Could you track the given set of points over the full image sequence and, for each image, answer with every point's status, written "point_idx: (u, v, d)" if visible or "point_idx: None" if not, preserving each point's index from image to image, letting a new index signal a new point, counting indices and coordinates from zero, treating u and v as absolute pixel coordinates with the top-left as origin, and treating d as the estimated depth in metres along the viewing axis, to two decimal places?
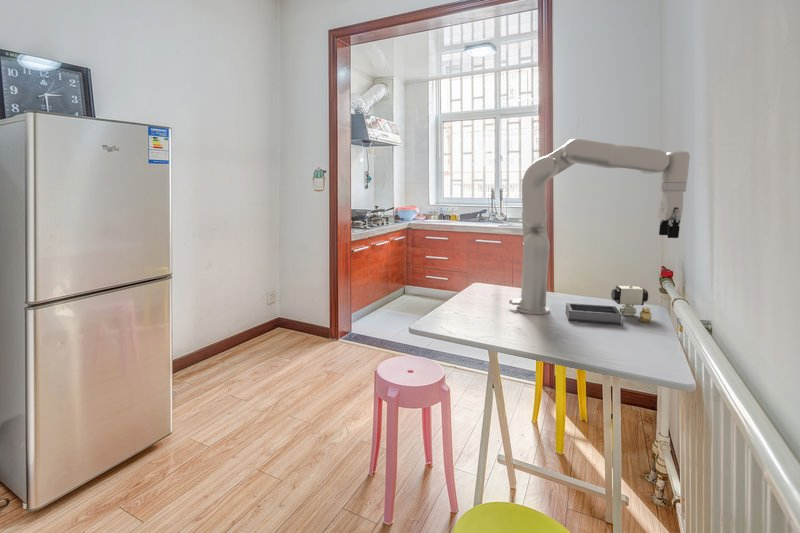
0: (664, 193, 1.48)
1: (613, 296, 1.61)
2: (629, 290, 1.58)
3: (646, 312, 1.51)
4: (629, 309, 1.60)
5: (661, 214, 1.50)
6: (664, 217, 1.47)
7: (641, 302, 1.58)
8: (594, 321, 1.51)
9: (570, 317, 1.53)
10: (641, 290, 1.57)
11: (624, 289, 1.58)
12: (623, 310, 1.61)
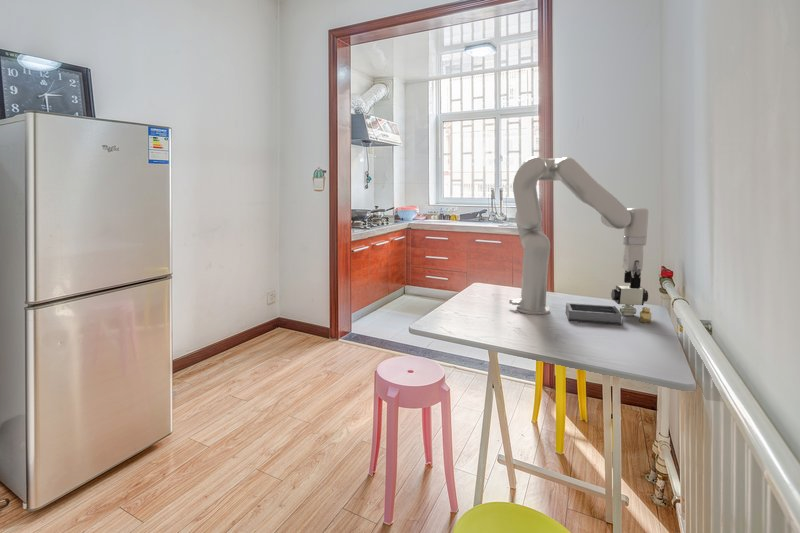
0: (626, 246, 1.58)
1: (613, 296, 1.61)
2: (629, 290, 1.58)
3: (646, 312, 1.51)
4: (629, 309, 1.60)
5: (624, 265, 1.59)
6: (626, 269, 1.56)
7: (641, 302, 1.58)
8: (594, 321, 1.51)
9: (570, 317, 1.53)
10: (641, 290, 1.57)
11: (624, 289, 1.58)
12: (623, 310, 1.61)
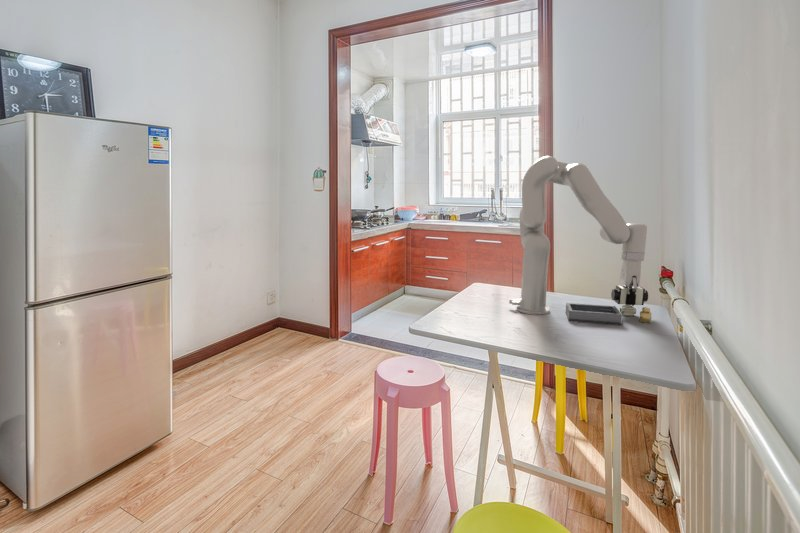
0: (624, 260, 1.59)
1: (613, 296, 1.61)
2: None
3: (646, 312, 1.51)
4: (629, 309, 1.60)
5: (622, 279, 1.61)
6: (624, 283, 1.57)
7: (641, 302, 1.58)
8: (594, 321, 1.51)
9: (570, 317, 1.53)
10: (641, 290, 1.57)
11: (624, 289, 1.58)
12: (623, 310, 1.61)
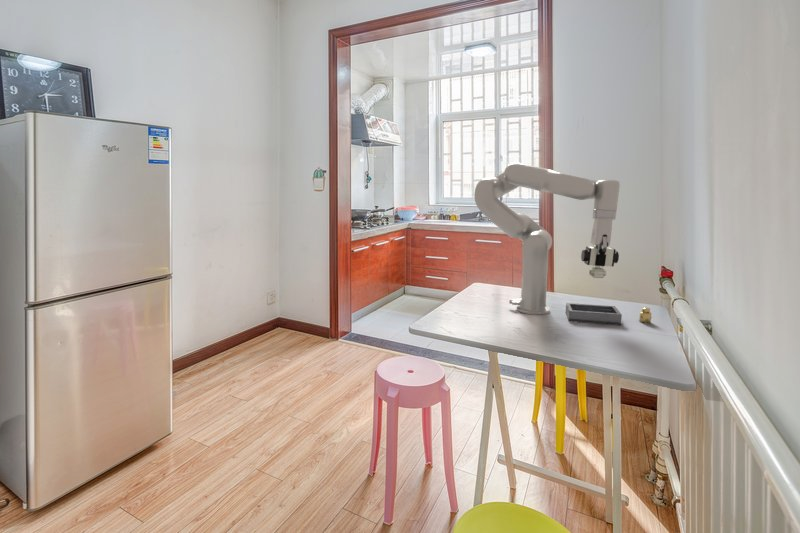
0: (595, 219, 1.51)
1: (583, 257, 1.53)
2: None
3: (646, 312, 1.51)
4: (598, 270, 1.53)
5: (592, 239, 1.53)
6: (594, 243, 1.50)
7: (611, 263, 1.51)
8: (594, 321, 1.51)
9: (570, 317, 1.53)
10: (611, 250, 1.50)
11: (594, 249, 1.51)
12: (593, 271, 1.54)
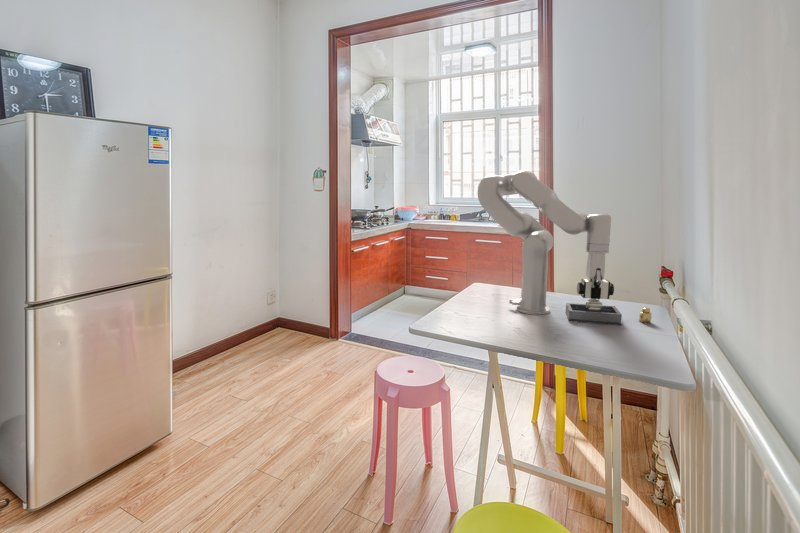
0: (589, 253, 1.53)
1: (578, 290, 1.55)
2: None
3: (646, 312, 1.51)
4: (594, 303, 1.54)
5: (587, 272, 1.55)
6: (588, 276, 1.52)
7: (607, 296, 1.52)
8: (594, 321, 1.51)
9: (570, 317, 1.53)
10: (606, 283, 1.51)
11: (589, 282, 1.52)
12: (589, 304, 1.55)
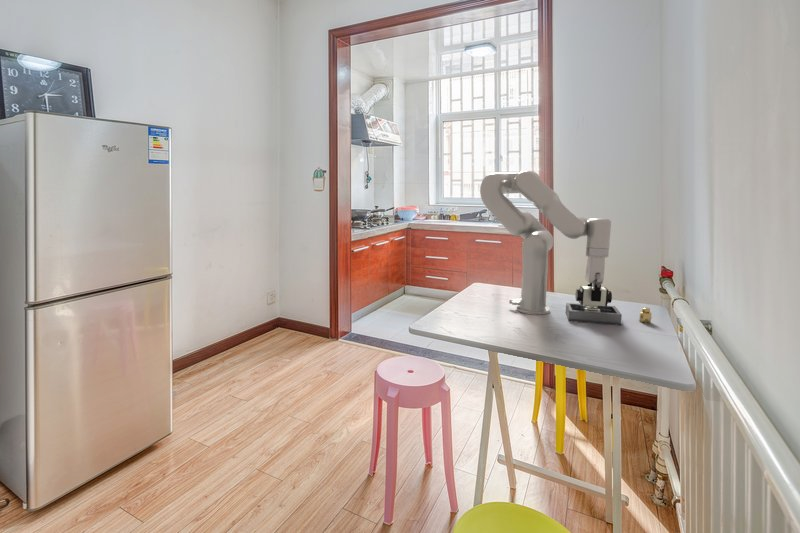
0: (588, 257, 1.53)
1: (576, 297, 1.56)
2: None
3: (646, 312, 1.51)
4: (592, 310, 1.55)
5: (586, 276, 1.55)
6: (588, 280, 1.52)
7: (604, 303, 1.53)
8: (594, 321, 1.51)
9: (570, 317, 1.53)
10: (604, 291, 1.52)
11: (587, 289, 1.53)
12: None
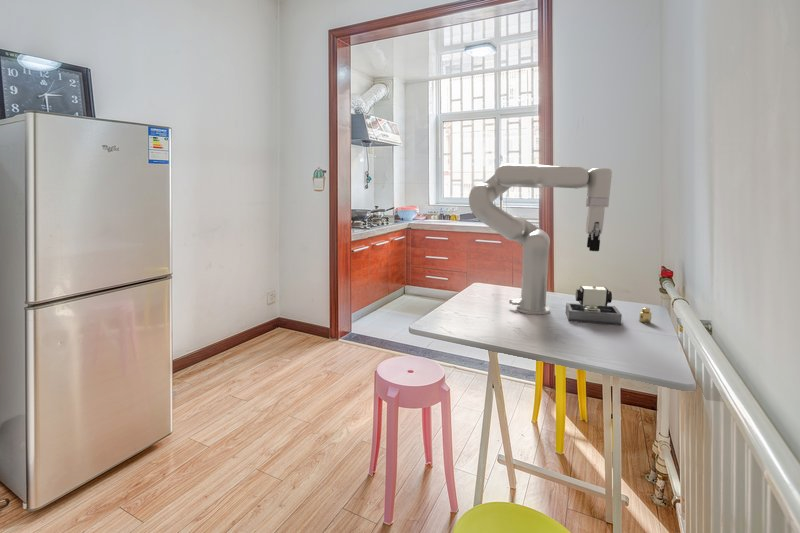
0: (589, 207, 1.54)
1: (576, 297, 1.56)
2: (592, 291, 1.53)
3: (646, 312, 1.51)
4: (592, 310, 1.55)
5: (586, 227, 1.56)
6: (587, 231, 1.53)
7: (604, 303, 1.53)
8: (594, 321, 1.51)
9: (570, 317, 1.53)
10: (604, 291, 1.52)
11: (587, 289, 1.53)
12: None
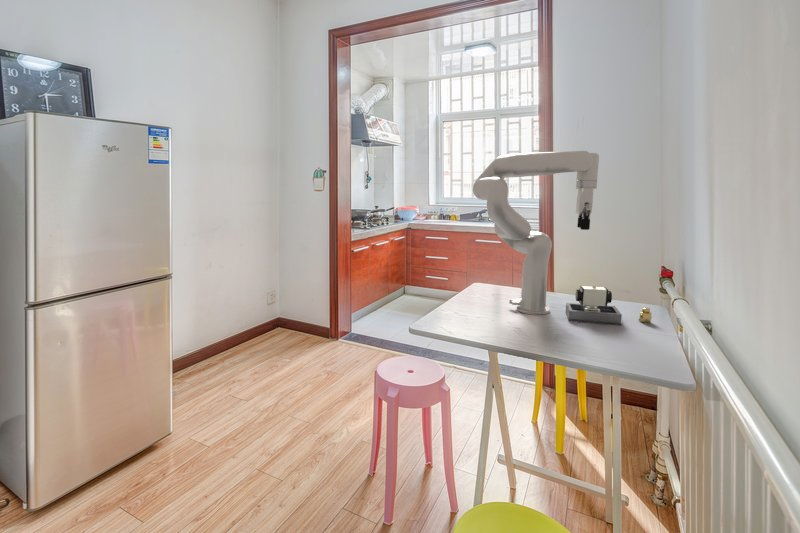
0: (578, 190, 1.66)
1: (576, 297, 1.56)
2: (592, 291, 1.53)
3: (646, 312, 1.51)
4: (592, 310, 1.55)
5: None
6: (578, 211, 1.65)
7: (604, 303, 1.53)
8: (594, 321, 1.51)
9: (570, 317, 1.53)
10: (604, 291, 1.52)
11: (587, 289, 1.53)
12: None
